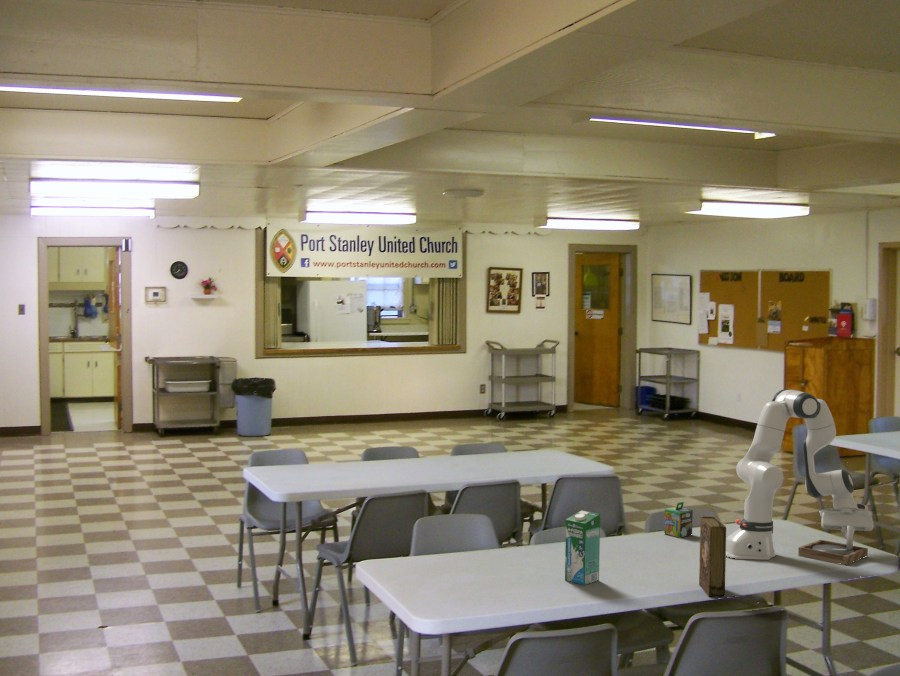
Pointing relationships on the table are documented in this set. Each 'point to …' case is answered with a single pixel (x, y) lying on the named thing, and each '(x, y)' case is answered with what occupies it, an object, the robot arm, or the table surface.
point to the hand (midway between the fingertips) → (849, 538)
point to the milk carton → (582, 547)
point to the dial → (839, 549)
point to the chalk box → (678, 521)
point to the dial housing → (832, 557)
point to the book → (712, 556)
